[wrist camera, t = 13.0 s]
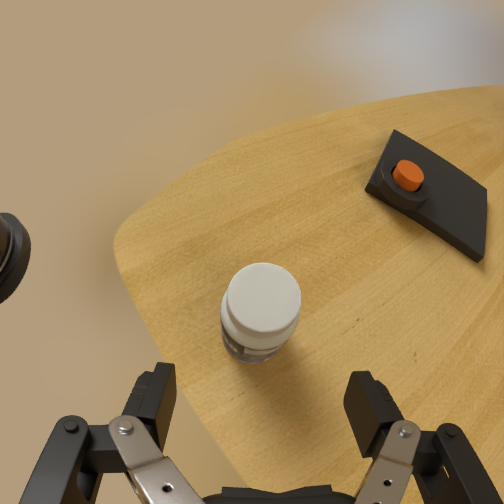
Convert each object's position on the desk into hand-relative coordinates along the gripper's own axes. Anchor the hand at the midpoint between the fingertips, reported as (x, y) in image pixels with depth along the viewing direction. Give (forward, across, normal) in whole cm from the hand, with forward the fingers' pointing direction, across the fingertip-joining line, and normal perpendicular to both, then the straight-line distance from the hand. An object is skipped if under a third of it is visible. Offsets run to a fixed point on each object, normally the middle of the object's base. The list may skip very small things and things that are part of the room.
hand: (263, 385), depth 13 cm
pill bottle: (+10, 0, +3) cm, 11 cm away
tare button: (+19, -16, -10) cm, 27 cm away
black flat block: (+22, -22, -9) cm, 33 cm away
